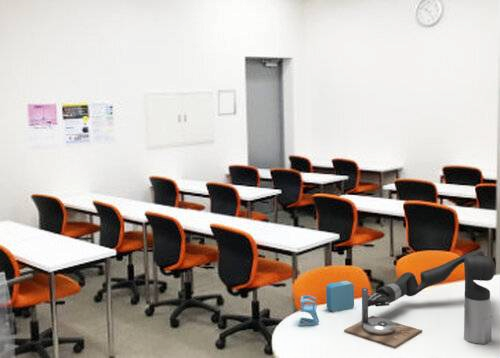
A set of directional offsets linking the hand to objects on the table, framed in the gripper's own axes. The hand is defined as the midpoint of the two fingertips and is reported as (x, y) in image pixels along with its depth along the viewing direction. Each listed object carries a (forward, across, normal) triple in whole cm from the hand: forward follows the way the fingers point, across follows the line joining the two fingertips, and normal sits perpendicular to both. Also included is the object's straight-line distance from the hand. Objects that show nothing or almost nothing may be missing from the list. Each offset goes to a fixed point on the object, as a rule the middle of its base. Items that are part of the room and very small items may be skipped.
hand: (364, 305), depth 242 cm
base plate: (-1, -8, -10) cm, 13 cm away
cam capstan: (-1, -8, -8) cm, 12 cm away
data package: (-10, +21, -10) cm, 25 cm away
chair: (+12, +20, -10) cm, 26 cm away
